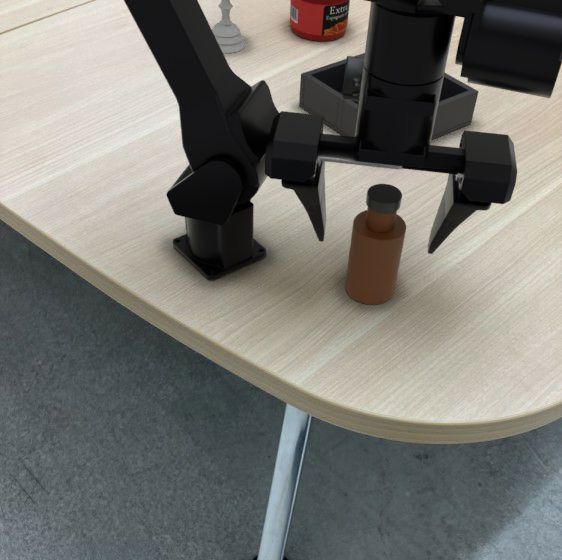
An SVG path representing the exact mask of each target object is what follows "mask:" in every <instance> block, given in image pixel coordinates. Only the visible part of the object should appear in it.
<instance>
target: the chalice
mask: <svg viewBox="0 0 562 560" xmlns="http://www.w3.org/2000/svg"><path fill="white" fill-rule="evenodd" d="M233 7H234V5H233V3H232V2H231V0H220V3H219V4H218V8H219V9H220V11H221V20H220V21H219V22H217V23H216V24H215V25H214V26H213V27H212V28H211V30H212V32H213V34H214V36H215V38H216V40H217V42H218V44H219V46H220V48H221V50H222V52H223V54H232V53H238V52H241V51H243V50H244V49H245V47H246V41H245V40H244V36H243V35H242V32H241V29H240V27H238V25H237V24H236V23H234V22H233V21H232V20H231V16H230V15H231V10H232V9H233Z"/></svg>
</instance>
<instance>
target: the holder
mask: <svg viewBox="0 0 562 560" xmlns="http://www.w3.org/2000/svg"><path fill="white" fill-rule="evenodd" d="M354 56H355V57H365V52H363V53H359V54H356V55H354ZM346 59H347V58H345V59H341V60H338V61H335V62H332V63H329V64H327V65H324V66H320V67H318V68H314V69H311V70H308V71H305V72H302V73H301V74H300V82H299V83H300V84H299V99H298V101H299V102H298V107H299V108H301V109H303V110H304V111H305V112H306V113H307V114H314V115H323V116H324V124H325V125H326V126H328V127H329V128H331V130H333V131H335V132H336V133H338V135H341V136H351V137H355V131H356V118H357V110H358V102H359V101H354V100H345V99H343V98H342V92H343V84H344V75H345V67H346ZM478 96H479V90H477V89H475V88H474V87H472V86H470V85H469V84H466V83H465V82H463V81H461V80H459V79H457V78H456V77H454V76H453V75H450V74H449V73H446V72H445V73H444V78H443V83H442V88H441V93H440V98H439V103H438V108H437V113H436V118H435V123H434V128H433V133H432V138H431V141H433V140H435V139H438V138H441V137H442V136H445V135H447V134H450V133H453V132H455V131H457V130H459V129H463V128H464V127H467V126H470V125H471V124H472V122H473V117H474V112H475V108H476V104H477V100H478Z"/></svg>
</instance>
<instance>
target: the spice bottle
mask: <svg viewBox="0 0 562 560" xmlns="http://www.w3.org/2000/svg"><path fill="white" fill-rule="evenodd" d="M402 199H403V193H402V191H401V190H400V189H399V188H398V187H396V186H394V185H392V184H388V183H377V184H373V185H371V186H370V187H369V188H368V189H367V191H366V197H365V205H366V206H367V209H366V210H363V211H361V212H359V213H358V214H357V215H356V216H355V217H354V219H353V222H352V227H351V229H352V230H351V237H350V244H349V251H348V252H349V253H348V259H347V268H346V276H345V283H344V284H345V285H344V289H345V291H346V293H347V295H348V296H349V297H350V298H351V299H353V300H354V301H356V302H358V303H361V304H365V305H380V304H383V303H386V302H388V301H389V300H390V299H392V297H393V296H394V294H395V290H396V285H397V279H398V274H399V270H400V263H401V258H402V254H403V253H402V252H403V248H404V242H405V237H406V232H407V223H406V222H405V220H404V219H403V217H401V215H399V214H397V213H398V211H399V210H400V208H401V205H402Z"/></svg>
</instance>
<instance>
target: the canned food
mask: <svg viewBox="0 0 562 560" xmlns="http://www.w3.org/2000/svg"><path fill="white" fill-rule="evenodd" d="M350 3H351V0H290V4H289V24H290V25H289V26H290V29H291V31H292V32H293V33H294V34H295V35H296V36H298V37H300V38H302V39H306V40H310V41H314V42H315V41H316V42H329V41H335V40H338V39H339V38H341V37H343V36H344V35H345V33H346V31H347V29H348V24H349V23H348V22H349V14H350Z"/></svg>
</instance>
